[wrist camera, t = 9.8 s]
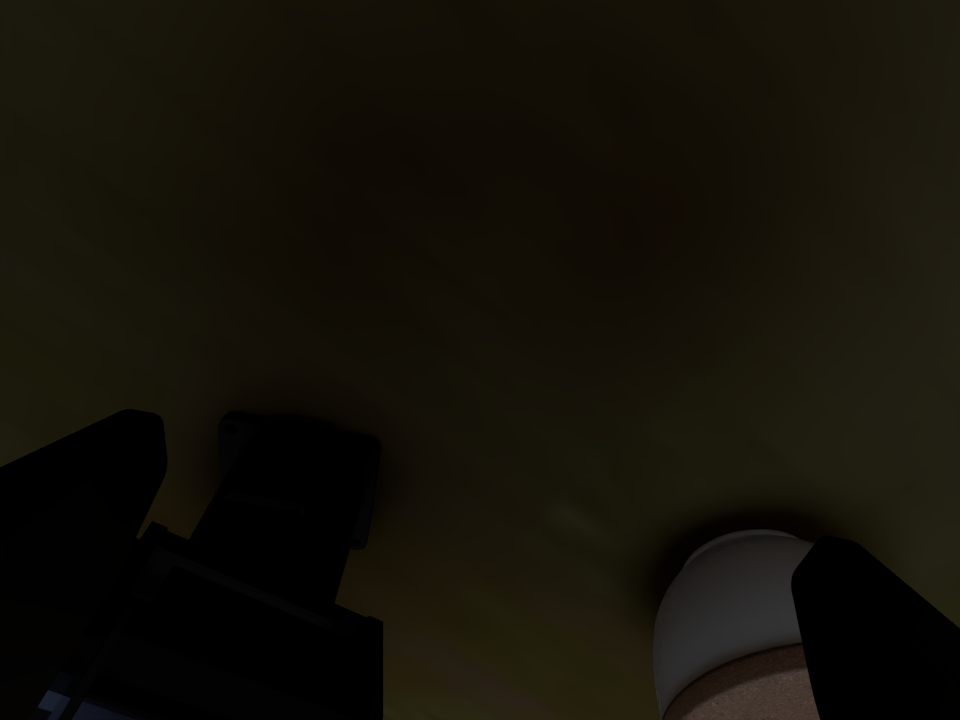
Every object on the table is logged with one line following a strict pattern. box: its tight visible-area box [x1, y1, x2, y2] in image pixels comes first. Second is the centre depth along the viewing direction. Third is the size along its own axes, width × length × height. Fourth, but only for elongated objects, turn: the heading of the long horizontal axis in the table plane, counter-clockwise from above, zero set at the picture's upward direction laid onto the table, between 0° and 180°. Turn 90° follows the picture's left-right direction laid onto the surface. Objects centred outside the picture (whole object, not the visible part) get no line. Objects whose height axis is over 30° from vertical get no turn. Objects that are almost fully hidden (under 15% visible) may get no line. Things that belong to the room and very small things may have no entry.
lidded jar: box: [653, 529, 820, 720], centre depth 24 cm, size 11×11×9 cm
